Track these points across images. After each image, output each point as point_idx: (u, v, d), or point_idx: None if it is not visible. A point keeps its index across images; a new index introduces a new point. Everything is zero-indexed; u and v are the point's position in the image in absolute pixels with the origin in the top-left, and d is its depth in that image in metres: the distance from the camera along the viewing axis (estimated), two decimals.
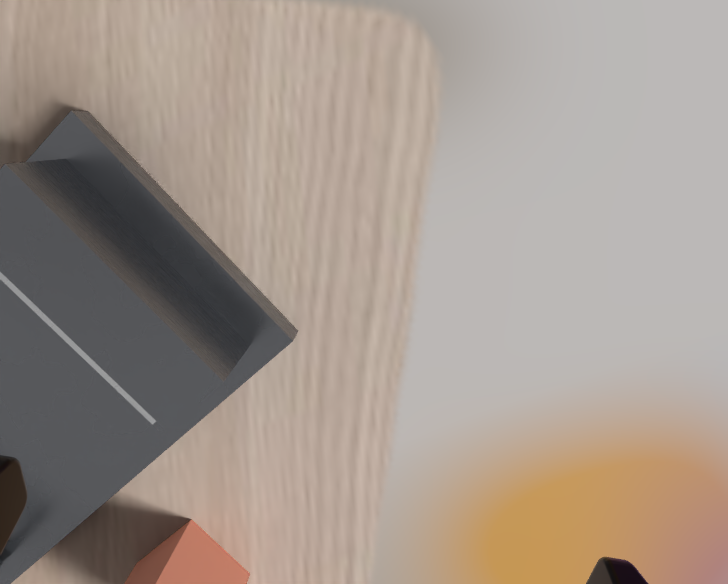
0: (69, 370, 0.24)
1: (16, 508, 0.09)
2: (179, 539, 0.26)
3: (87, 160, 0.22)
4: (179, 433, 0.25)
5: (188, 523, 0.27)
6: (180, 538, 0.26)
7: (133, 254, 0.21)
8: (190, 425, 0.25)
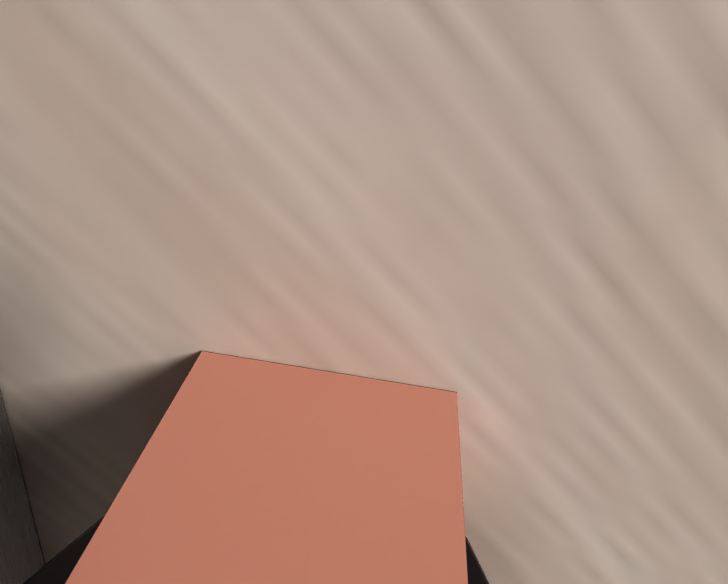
0: None
1: None
2: (168, 415, 0.08)
3: None
4: None
5: (196, 365, 0.09)
6: (168, 410, 0.08)
7: None
8: None
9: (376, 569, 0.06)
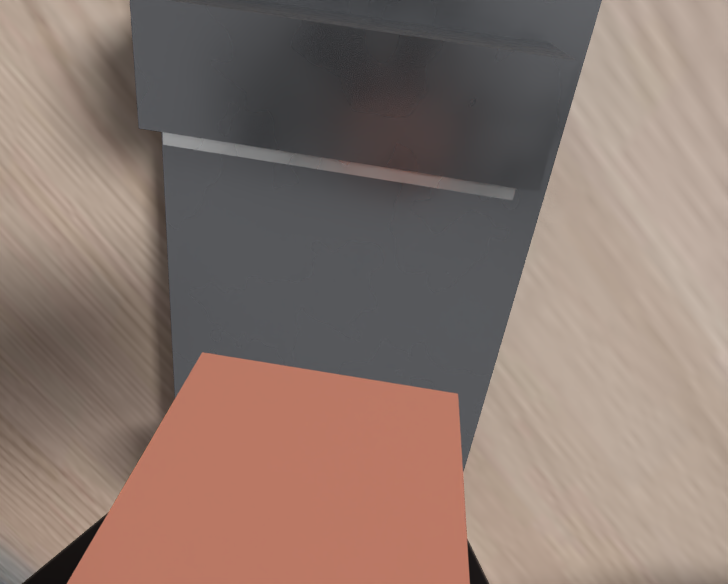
0: (363, 242, 0.19)
1: None
2: (168, 417, 0.08)
3: None
4: (530, 225, 0.18)
5: (196, 366, 0.09)
6: (168, 412, 0.08)
7: (339, 17, 0.14)
8: (537, 206, 0.18)
9: (377, 571, 0.06)
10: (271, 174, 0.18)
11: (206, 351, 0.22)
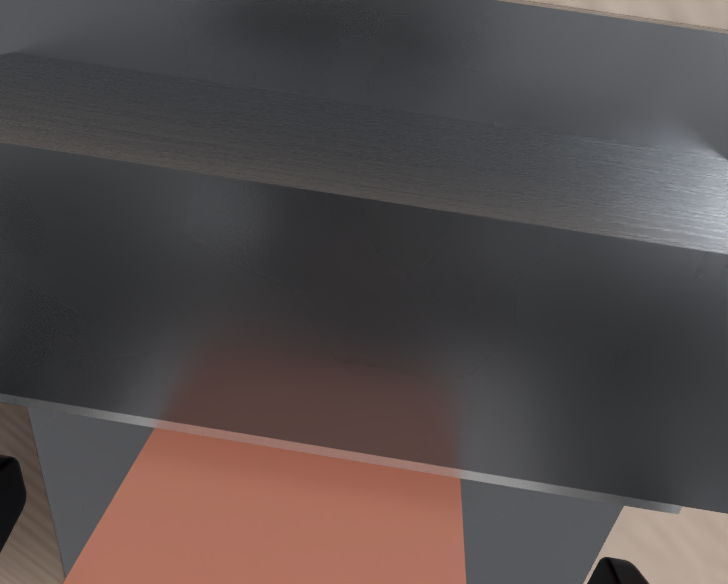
0: None
1: (15, 508, 0.09)
2: None
3: (48, 14, 0.08)
4: None
5: None
6: None
7: (306, 128, 0.07)
8: None
9: (381, 483, 0.07)
10: None
11: None
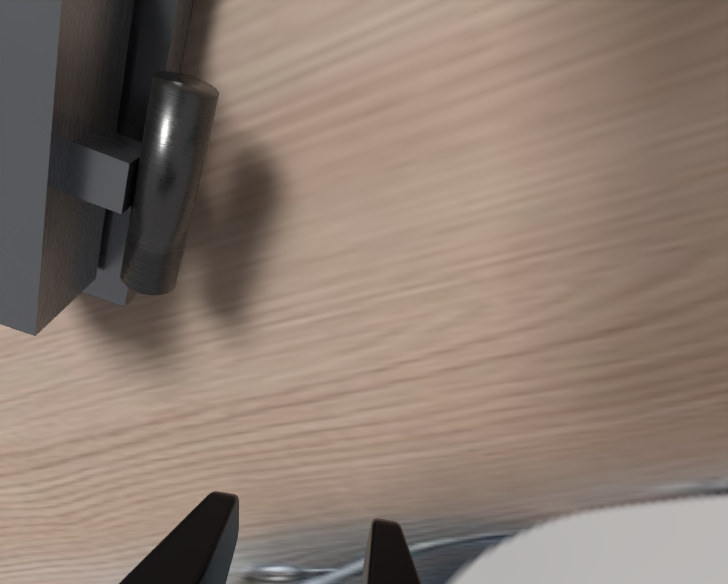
0: None
1: (232, 545, 0.09)
2: None
3: None
4: None
5: None
6: None
7: None
8: None
9: None
10: None
11: None
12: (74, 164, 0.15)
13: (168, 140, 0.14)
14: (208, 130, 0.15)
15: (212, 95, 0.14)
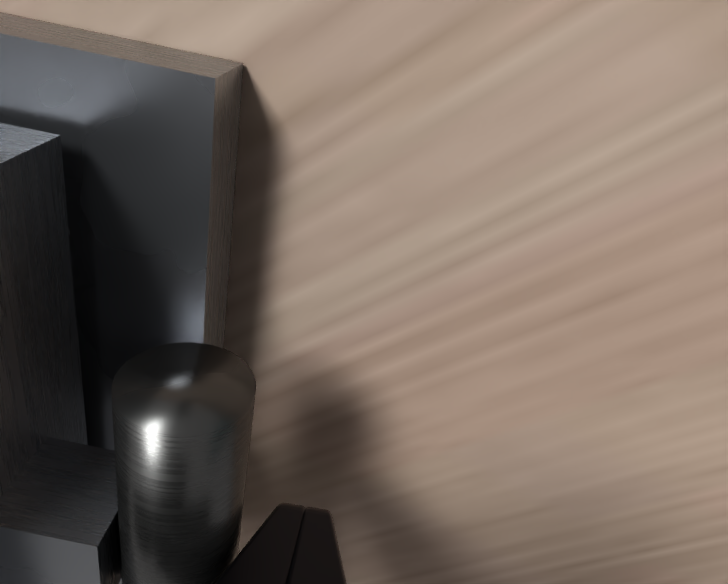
0: None
1: None
2: None
3: None
4: None
5: None
6: None
7: None
8: None
9: None
10: None
11: None
12: None
13: (165, 512, 0.07)
14: (244, 457, 0.07)
15: (244, 400, 0.07)
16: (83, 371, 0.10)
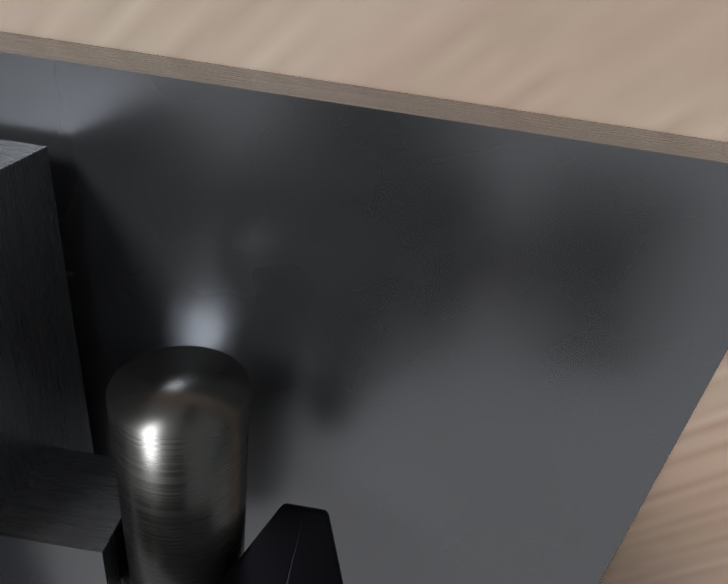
0: None
1: None
2: None
3: None
4: None
5: None
6: None
7: None
8: None
9: None
10: None
11: None
12: (2, 564, 0.08)
13: (165, 515, 0.07)
14: (243, 457, 0.07)
15: (238, 400, 0.07)
16: (540, 454, 0.09)
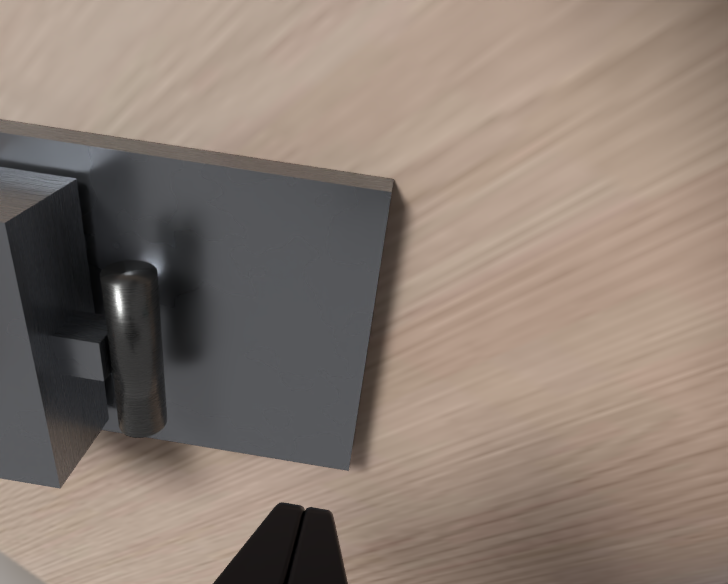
0: None
1: None
2: None
3: None
4: None
5: None
6: None
7: None
8: None
9: None
10: None
11: None
12: (57, 351, 0.18)
13: (123, 322, 0.17)
14: (155, 303, 0.18)
15: (151, 277, 0.17)
16: (314, 321, 0.20)
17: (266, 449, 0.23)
